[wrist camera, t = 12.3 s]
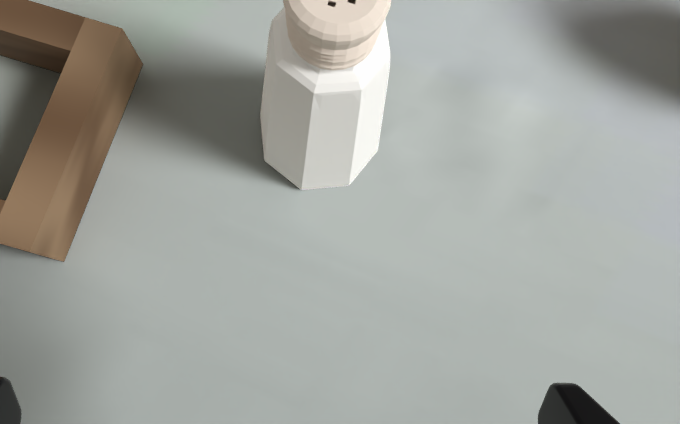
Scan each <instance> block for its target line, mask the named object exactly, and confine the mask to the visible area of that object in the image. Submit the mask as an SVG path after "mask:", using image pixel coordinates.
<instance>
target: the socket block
mask: <svg viewBox="0 0 680 424" xmlns="http://www.w3.org/2000/svg"><path fill="white" fill-rule="evenodd" d="M0 55H1V56H5V57H8V58H12V59H15V60H18V61H22V62H25V63H28V64H32V65H35V66H38V67H42V68H45V69H48V70H52V71H55V72H58V73H61V75H60V77H59V79H58V82H57V84H56V86H55V89H54V91H53V93H52V96H51V98H50V100H49V102H48V105H47V107H46V109H45V112H44V114H43V116H42V119H41V121H40V123H39V125H38V128H37V130H36V132H35V135H34V137H33V139H32V142H31V144H30V146H29V148H28V151H27V153H26V155H25V158H24V160H23V162H22V165H21V167H20V169H19V171H18V174H17V176H16V178H15V181H14V183H13V185H12V188H11V190H10V192H9V194H8V197H7V199H6V201H5V200H1V199H0V244H3V245H7V246H10V247H14V248H17V249H20V250H24V251H27V252H31V253H34V254H38V255H41V256H45V257H49V258H52V259H56V260H59V261H63V262H64V261H65V258H66V256H67V253H68V251H69V248H70V246H71V243H72V241H73V238H74V236H75V233H76V231H77V228H78V226H79V223H80V221H81V218H82V216H83V213H84V211H85V208H86V206H87V203H88V201H89V198H90V196H91V193H92V190H93V188H94V185H95V183H96V180H97V178H98V175H99V173H100V170H101V168H102V165H103V163H104V160H105V158H106V155H107V153H108V150H109V148H110V145H111V143H112V140H113V138H114V135H115V133H116V130H117V128H118V125H119V123H120V120H121V118H122V115H123V113H124V110H125V108H126V105H127V103H128V100H129V98H130V95H131V93H132V90H133V88H134V85H135V83H136V80H137V78H138V75H139V73H140V70H141V68H142V65H143V63H142V62H141V60H140V58H139V56H138V55H137V53H136V51H135V50H134V48H133V46H132V44H131V43H130V41H129V39H128V37H127V36H126V34H125V32H124V31H123V29H122V28H119V27H115V26H112V25H109V24H105V23H102V22H99V21H95V20H92V19H89V18H85V17H82V16H79V15H75V14H72V13H69V12H65V11H62V10H59V9H55V8H52V7H49V6H46V5H42V4H39V3H36V2H32V1H29V0H0Z"/></svg>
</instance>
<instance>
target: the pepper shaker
mask: <svg viewBox="0 0 680 424" xmlns="http://www.w3.org/2000/svg"><path fill="white" fill-rule="evenodd" d="M283 2H284V8H283V9H282V10H281V11H280V12H279V13H278V15H277V16H276V17H275V18H274V19H273V20H272V22H271V27H270V31H269V39H268V48H267V57H266V66H265V75H264V84H263V93H262V103H261V112H260V120H261V131H262V142H263V152H264V161H265V162H267V163H268V164H269V165H270V166H272V167H273V168H274V169H275V170H277V171H278V172H279V173H280V174H282V175H283V176H284V177H286V178H287V179H288V180H289V181H291V182H292V183H293V184H294V185H296V186H297V187H298V188H299V189H301V190H308V189H319V188H330V187H340V186H349V185H350V184H351V183H352V181H353V180H354V179H355V178H356V177H357V175H358V174H359V173H360V172H361V170H362V169H363V168H364V167H365V166H366V164H367V163H368V162H369V161H370V159H371V158H372V157H373V156H374V155H375V153H376V152H377V151H378V145H379V139H380V132H381V125H382V118H383V112H384V105H385V98H386V91H387V85H388V78H389V71H390V49H389V42H388V35H387V28H386V21H385V18H386V16H387V13H388V11H389V9H390V5H391V0H283Z"/></svg>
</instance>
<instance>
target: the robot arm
mask: <svg viewBox="0 0 680 424" xmlns="http://www.w3.org/2000/svg"><path fill="white" fill-rule="evenodd" d="M20 422H21V408H20V405H19V403H18V400H17V398H16V395H15V392H14V390H13V387H12V385H11V382H10V381H9V380H8V379H7V378H5V377H0V424H20ZM538 424H620V423H619V422H618V421H617V420H615V419H614V418H613V417H612V416H611V415H610V414H609V413H608V412H607V411H606V410H605V409H604V408H602V407H601V406H600V405H599V404H598V403H597V402H596V401H595V400H594V399H593V398H592V397H591V396H589V395H588V394H587V393H586V392H585V391H584V390H583V389H582V388H581V387H580V386H578V385H576V384H574V383H553V384H552V385H551V386H550V387H549V389H548V391H547V393H546V396H545V398H544V401H543V403H542V406H541V408H540V410H539V414H538Z"/></svg>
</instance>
